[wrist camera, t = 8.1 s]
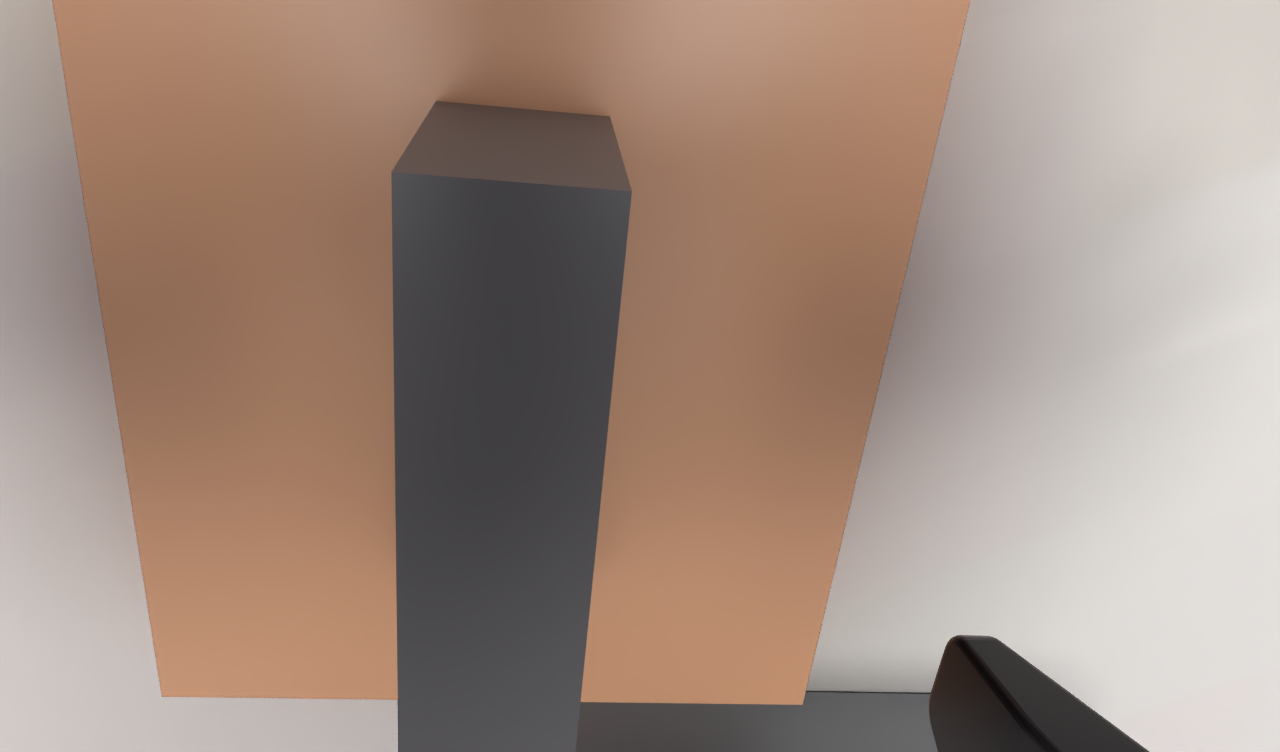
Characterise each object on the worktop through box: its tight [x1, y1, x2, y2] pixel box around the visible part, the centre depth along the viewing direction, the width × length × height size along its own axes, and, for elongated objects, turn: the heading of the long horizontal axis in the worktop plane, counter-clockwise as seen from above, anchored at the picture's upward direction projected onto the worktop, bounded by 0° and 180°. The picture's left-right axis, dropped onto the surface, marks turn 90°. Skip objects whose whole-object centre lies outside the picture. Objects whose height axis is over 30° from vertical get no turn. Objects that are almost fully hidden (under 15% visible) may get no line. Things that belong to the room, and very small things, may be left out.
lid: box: [52, 0, 970, 752], centre depth 14 cm, size 14×12×6 cm
